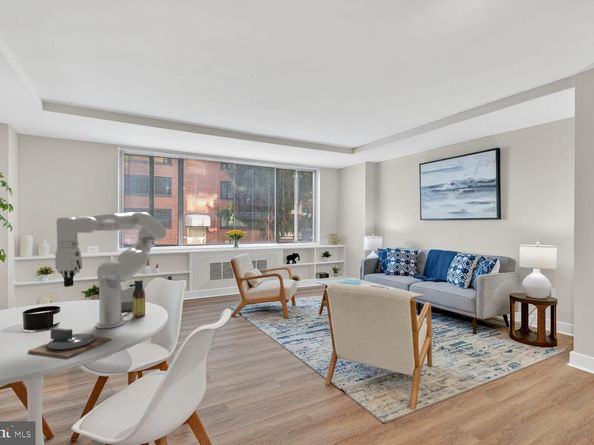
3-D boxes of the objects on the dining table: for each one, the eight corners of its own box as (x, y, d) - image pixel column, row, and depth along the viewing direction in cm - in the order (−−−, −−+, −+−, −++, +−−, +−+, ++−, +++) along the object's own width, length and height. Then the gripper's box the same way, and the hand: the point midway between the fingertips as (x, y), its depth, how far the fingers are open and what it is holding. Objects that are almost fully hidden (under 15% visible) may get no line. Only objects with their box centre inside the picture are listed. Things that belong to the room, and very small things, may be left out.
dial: (33, 347, 130) (33, 334, 130) (70, 334, 145) (70, 322, 145) (69, 352, 125) (69, 338, 125) (103, 337, 141) (103, 325, 141)
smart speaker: (125, 308, 195) (125, 284, 195) (140, 308, 195) (140, 284, 195) (116, 312, 185) (116, 287, 185) (132, 312, 185) (132, 287, 185)
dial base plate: (75, 335, 147) (75, 332, 147) (111, 340, 142) (111, 337, 142) (28, 352, 128) (28, 349, 128) (68, 358, 123) (68, 355, 123)
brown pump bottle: (135, 314, 181) (135, 278, 181) (147, 314, 181) (147, 278, 181) (130, 318, 174) (130, 281, 174) (142, 318, 174) (142, 280, 174)
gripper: (88, 244, 148) (90, 284, 148) (61, 244, 151) (62, 283, 151) (74, 246, 140) (75, 288, 141) (45, 245, 143) (47, 287, 144)
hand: (68, 286), depth 146 cm, fingers closed
